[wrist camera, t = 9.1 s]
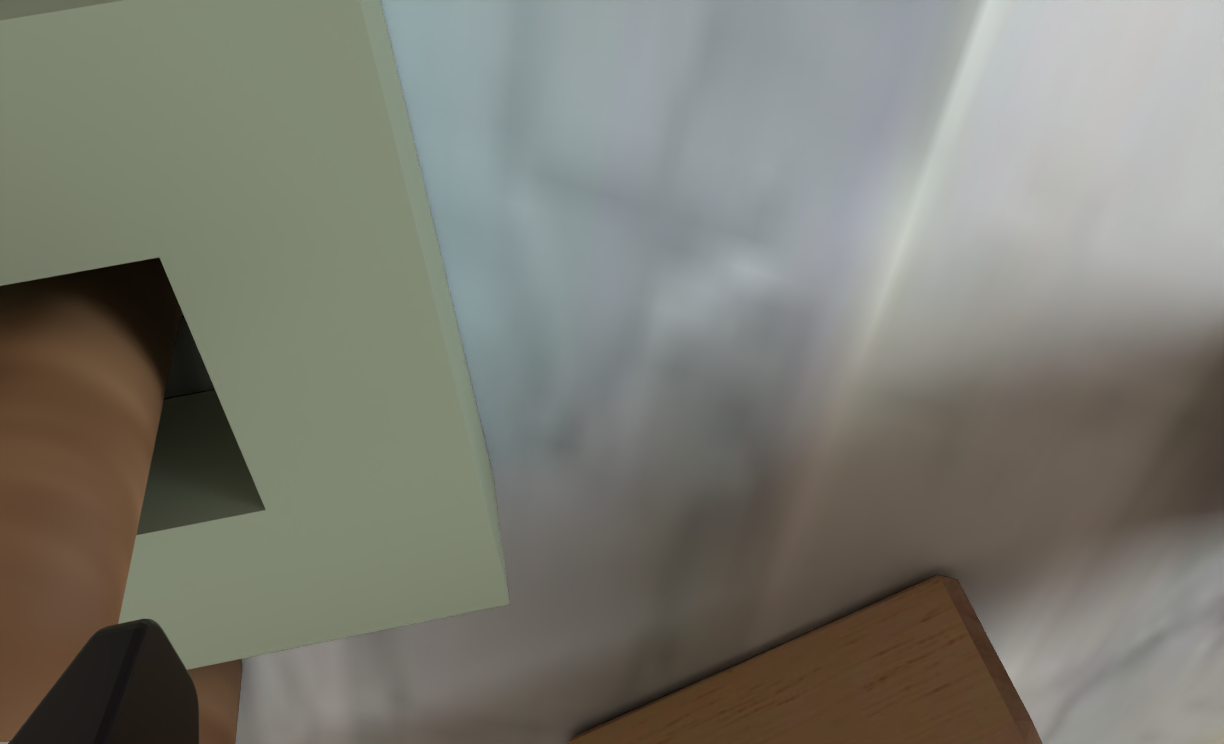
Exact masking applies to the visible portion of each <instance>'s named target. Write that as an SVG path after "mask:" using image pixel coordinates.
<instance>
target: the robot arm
mask: <svg viewBox="0 0 1224 744" xmlns="http://www.w3.org/2000/svg"><path fill="white" fill-rule="evenodd" d="M8 744H199V703H198V696H197V691H196V688H195V685H194V682H193V680H192V678H191V676H190V674H189V672H188V671H187V669H186V667H185V666H184V664H183V662H182V661H181V659H180V657H179V656H178V654H177V652H176V651H175V649H174V647H173V646H172V644H171V642H170V641H169V639H168V637H167V636H166V634H165V632H164V631H163V629H162V628H161V626H160V625H159V624H158V623H157V622H155V621H154V620H152V619H139V620H135V621H130V622H125V623H120V624H116V625H111V626H106V627H104V628H102V629H100V630H98V631H97V632H96V633H95V634H94V635H93V636H92V637H91V638H90V639H89V640H88V641H87V643H86V644H85V645H84V647H83V648H82V649H81V651H80V652H79V653H78V654H77V656H76V657H75V658H74V660H73V661H72V662H71V663H70V665H69V666H68V667H67V669H66V670H65V671H64V672H63V674H62V675H61V676H60V678H59V679H58V680H57V682H56V683H55V684H54V685H53V687H52V688H51V689H50V691H49V692H48V693H47V694H46V696H45V697H44V698H43V700H42V701H41V702H40V703H39V705H38V706H37V707H36V709H35V710H34V711H33V712H32V714H31V715H30V716H29V718H28V719H27V720H26V722H25V723H24V724H23V725H22V727H21V728H20V729H19V731H18V732H17V733H16V734H15V736H14V737H13V738H12V740H11V741H10V742H9V743H8Z"/></svg>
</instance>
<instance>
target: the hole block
mask: <svg viewBox="0 0 1224 744" xmlns="http://www.w3.org/2000/svg"><path fill="white" fill-rule="evenodd" d="M158 257H159V258H160V260H161V262H162V265H163V267H164V269H165V272H166V274H167V277H168V279H169V281H170V284H171V286H172V288H173V291H174V293H175V296H176V298H177V300H178V303H179V305H180V307H181V310H182V312H183V315H184V317H185V319H186V322H187V324H188V326H189V329H190V331H191V334H192V336H193V338H194V341H195V343H196V345H197V348H198V350H199V353H200V355H201V357H202V360H203V362H204V364H205V367H206V369H207V372H208V374H209V376H210V379H211V381H212V383H213V386H214V388H215V390H213V391H207V392H202V393H197V394H191V395H186V396H181V397H175V398H170V399H165V400H164V402H163V406H162V411H161V416H160V421H159V426H158V431H157V436H156V441H155V446H154V451H153V455H152V460H151V465H150V470H149V475H148V480H147V485H146V490H145V495H144V500H143V505H142V509H141V514H140V519H139V524H138V529H137V534H136V539H135V544H134V549H133V554H132V559H131V563H130V568H129V573H128V578H127V583H126V588H125V593H124V598H123V603H122V608H121V613H120V617H119V622H118V624H120V623H125V622H130V621H135V620H139V619H152V620H154V621H155V622H157V623H158V624H159V625H160V626H161V628H162V629H163V631H164V632H165V634H166V636H167V637H168V639H169V641H170V642H171V644H172V646H173V647H174V649H175V651H176V652H177V654H178V656H179V657H180V659H181V661H182V662H183V664H184V666H185V667H186V669H187V670H188V669H193V668H198V667H203V666H208V665H213V664H218V663H223V662H228V661H233V660H238V659H243V658H248V657H253V656H257V655H262V654H267V653H272V652H277V651H282V650H287V649H292V648H297V647H302V646H307V645H312V644H317V643H322V642H327V641H331V640H336V639H341V638H346V637H351V636H356V635H361V634H366V633H371V632H376V631H381V630H386V629H391V628H396V627H401V626H405V625H410V624H415V623H420V622H425V621H430V620H435V619H440V618H445V617H450V616H455V615H460V614H465V613H470V612H475V611H479V610H484V609H489V608H494V607H499V606H504V605H509V604H510V600H509V592H508V585H507V577H506V570H505V562H504V554H503V547H502V539H501V532H500V524H499V516H498V509H497V501H496V494H495V486H494V478H493V473H492V469H491V464H490V460H489V456H488V452H487V448H486V443H485V439H484V435H483V431H482V426H481V422H480V418H479V414H478V410H477V405H476V401H475V397H474V393H473V389H472V384H471V380H470V376H469V372H468V367H467V363H466V359H465V355H464V351H463V346H462V342H461V338H460V334H459V329H458V325H457V321H456V317H455V313H454V308H453V304H452V300H451V296H450V291H449V287H448V283H447V279H446V275H445V270H444V266H443V262H442V258H441V254H440V249H439V245H438V241H437V237H436V232H435V228H434V224H433V220H432V216H431V211H430V207H429V203H428V199H427V194H426V190H425V186H424V182H423V178H422V173H421V169H420V165H419V161H418V156H417V152H416V148H415V144H414V140H413V135H412V131H411V127H410V123H409V119H408V114H407V110H406V106H405V102H404V97H403V93H402V89H401V85H400V81H399V76H398V72H397V68H396V64H395V59H394V55H393V51H392V47H391V43H390V38H389V34H388V30H387V26H386V21H385V17H384V13H383V9H382V5H381V0H0V286H2V285H8V284H14V283H19V282H25V281H30V280H36V279H41V278H47V277H53V276H58V275H64V274H69V273H75V272H80V271H86V270H92V269H97V268H103V267H108V266H114V265H119V264H125V263H131V262H136V261H142V260H147V259H153V258H158Z"/></svg>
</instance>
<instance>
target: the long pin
mask: <svg viewBox="0 0 1224 744" xmlns="http://www.w3.org/2000/svg"><path fill="white" fill-rule="evenodd" d="M181 313H182V310H181V307H180V305H179V303H178V300H177V298H176V296H175V293H174V291H173V288H172V286H171V284H170V281H169V279H168V277H167V274H166V272H165V269H164V267H163V265H162V262H161V260H160V258H159V257H158V258H153V259H147V260H142V261H136V262H131V263H125V264H119V265H114V266H108V267H103V268H97V269H92V270H86V271H80V272H75V273H69V274H64V275H58V276H53V277H47V278H41V279H36V280H30V281H25V282H19V283H14V284H8V285H2V286H0V742H6V741H11V740H12V738H13V737H14V736H15V734H16V733H17V732H18V731H19V729H20V728H21V727H22V725H23V724H24V723H25V722H26V720H27V719H28V718H29V716H30V715H31V714H32V712H33V711H34V710H35V709H36V707H37V706H38V705H39V703H40V702H41V701H42V700H43V698H44V697H45V696H46V694H47V693H48V692H49V691H50V689H51V688H52V687H53V685H54V684H55V683H56V682H57V680H58V679H59V678H60V676H61V675H62V674H63V672H64V671H65V670H66V669H67V667H68V666H69V665H70V663H71V662H72V661H73V660H74V658H75V657H76V656H77V654H78V653H79V652H80V651H81V649H82V648H83V647H84V645H85V644H86V643H87V641H88V640H89V639H90V638H91V637H92V636H93V635H94V634H95V633H96V632H97V631H98V630H100V629H102V628H104V627H106V626H111V625H116V624H118V622H119V617H120V613H121V608H122V603H123V598H124V593H125V588H126V583H127V578H128V573H129V568H130V563H131V559H132V554H133V549H134V544H135V539H136V534H137V529H138V524H139V519H140V514H141V509H142V505H143V500H144V495H145V490H146V485H147V480H148V475H149V470H150V465H151V460H152V455H153V451H154V446H155V441H156V436H157V431H158V426H159V421H160V416H161V411H162V406H163V402H164V397H165V392H166V387H167V382H168V377H169V372H170V367H171V362H172V357H173V352H174V348H175V343H176V338H177V333H178V328H179V323H180V318H181Z"/></svg>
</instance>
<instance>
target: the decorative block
mask: <svg viewBox="0 0 1224 744" xmlns="http://www.w3.org/2000/svg"><path fill="white" fill-rule="evenodd" d="M568 744H1042V742H1041V739H1040V737H1039V735H1038V733H1037V731H1036V728H1035V726H1034V724H1033V722H1032V720H1031V718H1030V716H1029V714H1028V712H1027V710H1026V708H1025V706H1024V704H1023V703H1022V701H1021V699H1020V697H1019V695H1018V693H1017V691H1016V689H1015V687H1014V686H1013V684H1012V682H1011V680H1010V678H1009V676H1008V674H1007V672H1006V670H1005V669H1004V667H1003V665H1002V663H1001V661H1000V659H999V657H998V655H997V653H996V652H995V650H994V648H993V646H992V644H991V642H990V640H989V638H988V636H987V634H986V633H985V631H984V629H983V627H982V625H981V623H980V621H979V619H978V617H977V616H976V614H975V612H974V610H973V608H972V606H971V604H970V602H969V600H968V599H967V597H966V595H965V593H964V591H963V589H962V587H961V585H960V583H959V582H958V580H957V579H953V578H949V577H945V576H941V575H936V576H934V577H932V578H930V579H927V580H925V581H923V582H921V583H919V584H916V585H914V586H912V587H910V588H907V589H905V590H903V591H901V592H898V593H896V594H894V595H892V596H889V597H887V598H885V599H883V600H881V601H878V602H876V603H874V604H872V605H869V606H867V607H865V608H863V609H860V610H858V611H856V612H854V613H851V614H849V615H847V616H845V617H843V618H840V619H838V620H836V621H834V622H831V623H829V624H827V625H825V626H822V627H820V628H818V629H816V630H813V631H811V632H809V633H807V634H805V635H802V636H800V637H798V638H796V639H793V640H791V641H789V642H787V643H784V644H782V645H780V646H778V647H775V648H773V649H771V650H769V651H767V652H764V653H762V654H760V655H758V656H755V657H753V658H751V659H749V660H746V661H744V662H742V663H740V664H737V665H735V666H733V667H730V668H728V669H726V670H724V671H721V672H719V673H717V674H715V675H712V676H710V677H708V678H705V679H703V680H701V681H699V682H696V683H694V684H692V685H690V686H687V687H685V688H683V689H680V690H678V691H676V692H674V693H671V694H669V695H667V696H665V697H662V698H660V699H658V700H655V701H653V702H651V703H649V704H646V705H644V706H642V707H640V708H637V709H635V710H633V711H630V712H628V713H626V714H624V715H621V716H619V717H617V718H615V719H612V720H610V721H608V722H605V723H603V724H601V725H599V726H596V727H594V728H592V729H590V730H587V731H585V732H583V733H580V734H578V735H576V736H574V737H573V738H572V739H571V740H570V742H569V743H568Z"/></svg>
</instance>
